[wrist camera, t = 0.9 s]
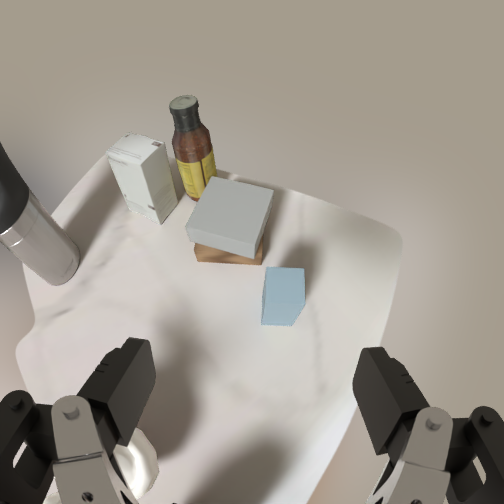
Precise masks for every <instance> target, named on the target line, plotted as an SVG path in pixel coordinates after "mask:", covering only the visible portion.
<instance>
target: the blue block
mask: <svg viewBox="0 0 504 504" xmlns="http://www.w3.org/2000/svg"><path fill="white" fill-rule="evenodd" d="M304 305H305V278H304V268H284V267H266V274H265V281H264V288H263V295H262V319H261V325H275V326H292V325H293V323H294V322H295V320H296V319H297V317H298V315H299V314H300V312H301V310H302V309H303V307H304Z"/></svg>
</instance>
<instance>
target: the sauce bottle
mask: <svg viewBox="0 0 504 504" xmlns="http://www.w3.org/2000/svg"><path fill="white" fill-rule="evenodd" d="M169 107H170V112H171V114H172V115H173V119H174V123H175V125H174V126H175V131H174V136H173V139H172V145H173V149H174V153H175V158H176V162H177V165H178V168H179V172H180V175H181V178H182V181H183V184H184V188H185V191H186V192H187V195H188V196H189V197H190V198H191V199H193V200H194V201H197V202H198V201H199V199H200V197H201V195H202V193H203V191H204V190H205V188H206V186H207V184H208V182H209V180H210V179H211V177H212V176H214V177H217V172H216V166H215V161H214V154H213V147H212V144H211V140H210V134H209V130H208V129H207V128H206V127H205V126H204V125H203V124H202V123H201V122H200V119H199V114H198V107H199V104H198V101H197V98H196V97H195V96H192V95H186V96H180V97H177V98H175V99H174V100H172V101H171V103H170V104H169Z"/></svg>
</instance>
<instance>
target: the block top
mask: <svg viewBox="0 0 504 504" xmlns="http://www.w3.org/2000/svg"><path fill="white" fill-rule="evenodd" d="M273 194H274V190H272V189H267V188H263V187H259V186H255V185H251V184H246V183H242V182H237V181H233V180H228V179H224V178H219V177H214V176H212V177H211V179H210V180H209V182H208V184H207V186H206V188H205V190H204V191H203V193H202V195H201V197H200V199H199V201H198V203H197V204H196V206H195V208H194V210H193V212H192V214H191V216H190V218H189V220H188V222H187V224H186V226H185V227H186V230H187V233H188V236H189V240H190V241H191V242H194V243H198V244H201V245H205V246H209V247H212V248H216V249H219V250H223V251H226V252H230V253H234V254H237V255H241V256H244V257H248V258H252V259H254V258H255V255H256V252H257V249H258V246H259V243H260V240H261V238H262V235H263V232H264V229H265V226H266V223H267V220H268V217H269V214H270V211H271V208H272V202H273Z"/></svg>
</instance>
